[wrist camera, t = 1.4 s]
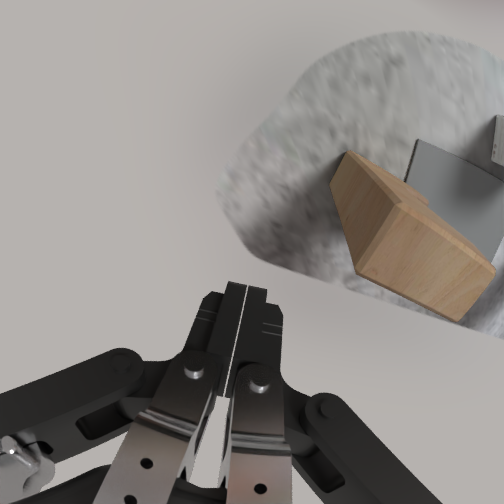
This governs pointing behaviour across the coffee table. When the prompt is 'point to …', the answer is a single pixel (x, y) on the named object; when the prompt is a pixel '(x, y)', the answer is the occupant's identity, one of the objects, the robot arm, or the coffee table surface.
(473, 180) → the mat
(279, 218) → the coffee table surface
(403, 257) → the decorative block
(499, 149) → the supplement box
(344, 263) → the coffee table surface
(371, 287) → the coffee table surface
